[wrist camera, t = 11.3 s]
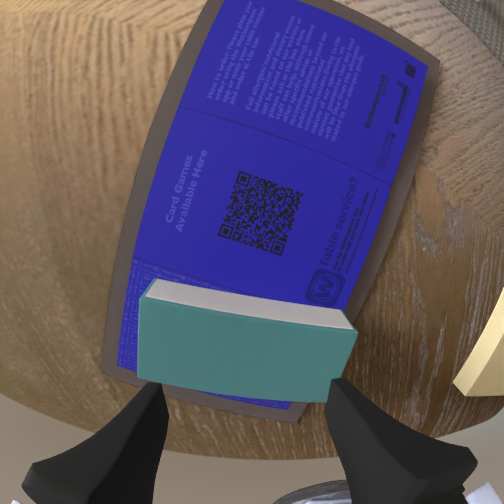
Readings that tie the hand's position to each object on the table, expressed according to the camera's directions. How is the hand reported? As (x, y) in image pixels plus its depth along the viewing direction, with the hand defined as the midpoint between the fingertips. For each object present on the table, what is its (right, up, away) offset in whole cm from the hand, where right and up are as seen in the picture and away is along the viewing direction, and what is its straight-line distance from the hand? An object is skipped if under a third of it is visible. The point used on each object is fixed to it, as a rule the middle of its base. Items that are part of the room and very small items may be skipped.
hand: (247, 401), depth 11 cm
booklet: (+1, +8, +4) cm, 9 cm away
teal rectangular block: (0, +2, +6) cm, 6 cm away
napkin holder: (+17, +30, 0) cm, 34 cm away
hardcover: (+26, -3, +9) cm, 28 cm away
